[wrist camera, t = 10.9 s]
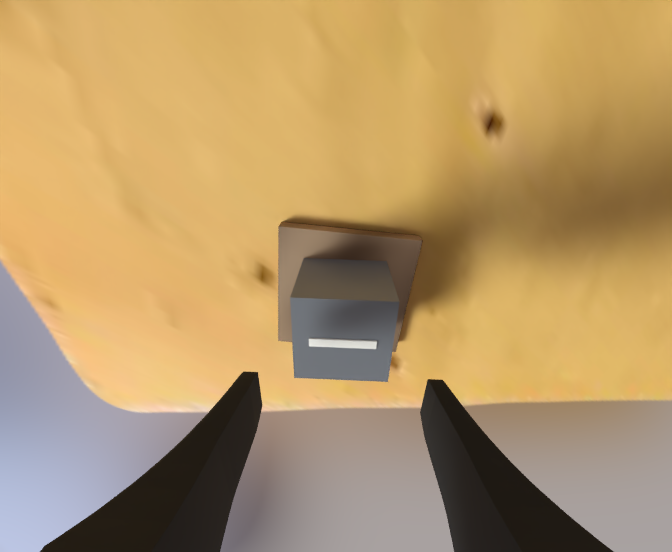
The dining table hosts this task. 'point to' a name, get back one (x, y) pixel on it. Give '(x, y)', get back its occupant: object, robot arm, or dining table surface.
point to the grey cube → (343, 319)
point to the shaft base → (345, 246)
